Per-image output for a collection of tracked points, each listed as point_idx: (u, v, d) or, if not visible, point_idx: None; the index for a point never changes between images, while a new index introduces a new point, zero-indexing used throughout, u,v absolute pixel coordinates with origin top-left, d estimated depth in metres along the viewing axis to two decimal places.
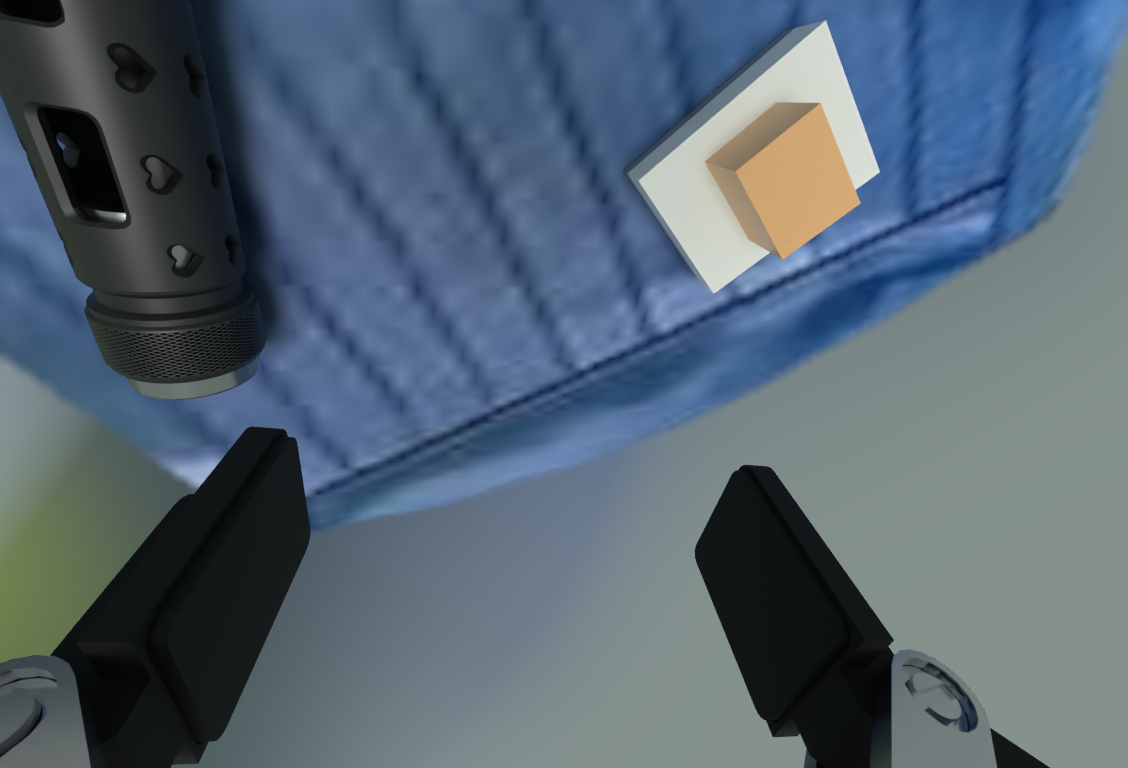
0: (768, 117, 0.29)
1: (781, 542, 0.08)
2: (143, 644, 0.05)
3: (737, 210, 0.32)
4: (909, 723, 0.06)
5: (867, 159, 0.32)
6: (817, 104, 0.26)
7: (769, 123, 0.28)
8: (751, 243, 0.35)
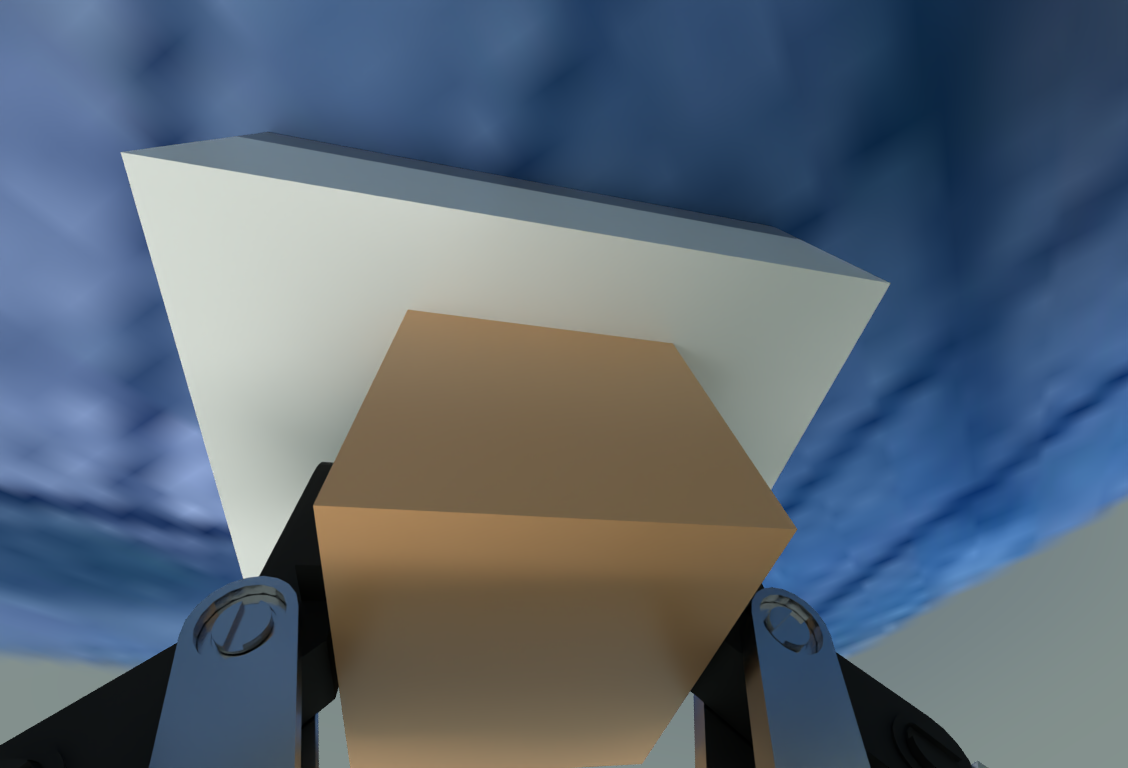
0: (629, 367, 0.08)
1: None
2: None
3: None
4: (774, 665, 0.06)
5: None
6: (777, 509, 0.06)
7: (616, 391, 0.08)
8: None
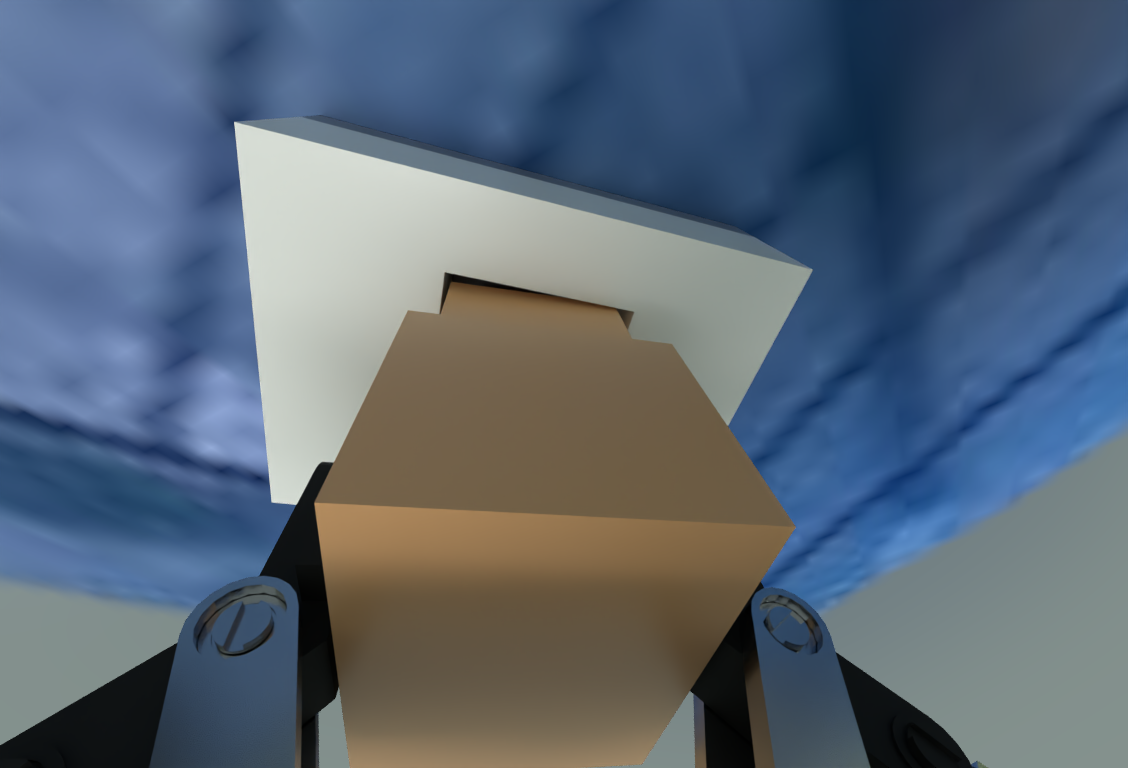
0: (628, 367, 0.08)
1: None
2: None
3: None
4: (774, 665, 0.06)
5: None
6: (776, 507, 0.06)
7: (616, 391, 0.08)
8: None
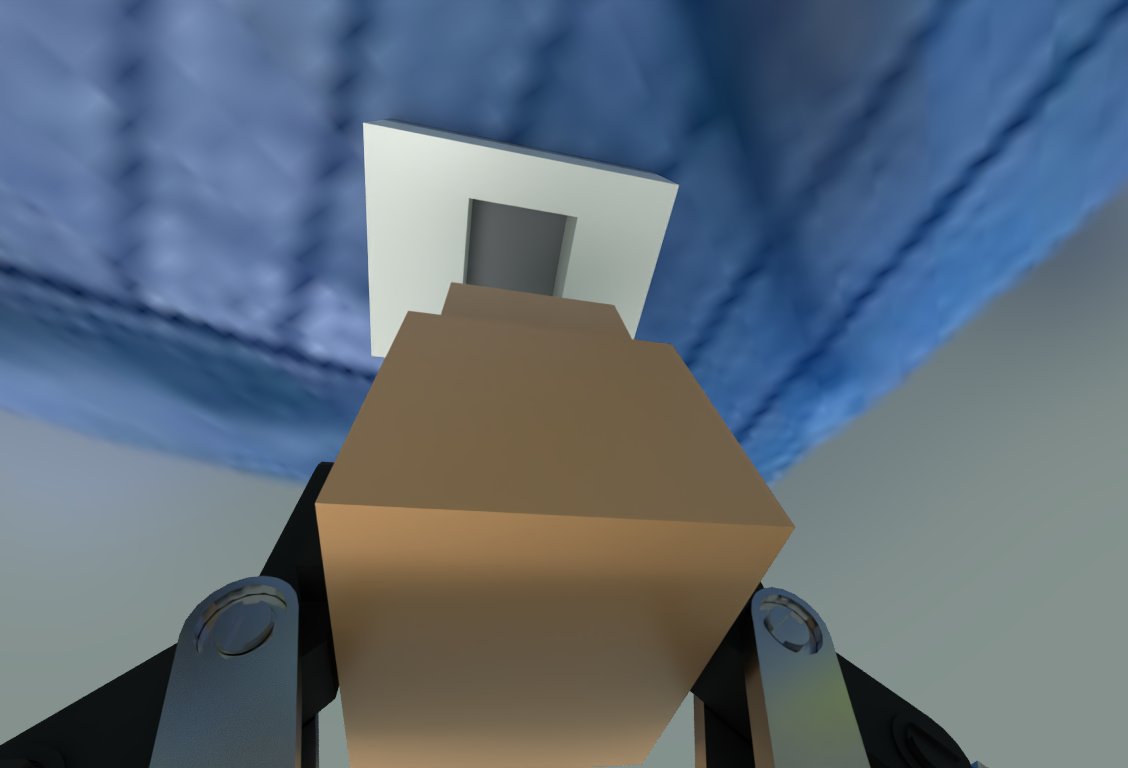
0: (628, 367, 0.08)
1: None
2: None
3: None
4: (774, 665, 0.06)
5: None
6: (776, 507, 0.06)
7: (616, 391, 0.08)
8: None
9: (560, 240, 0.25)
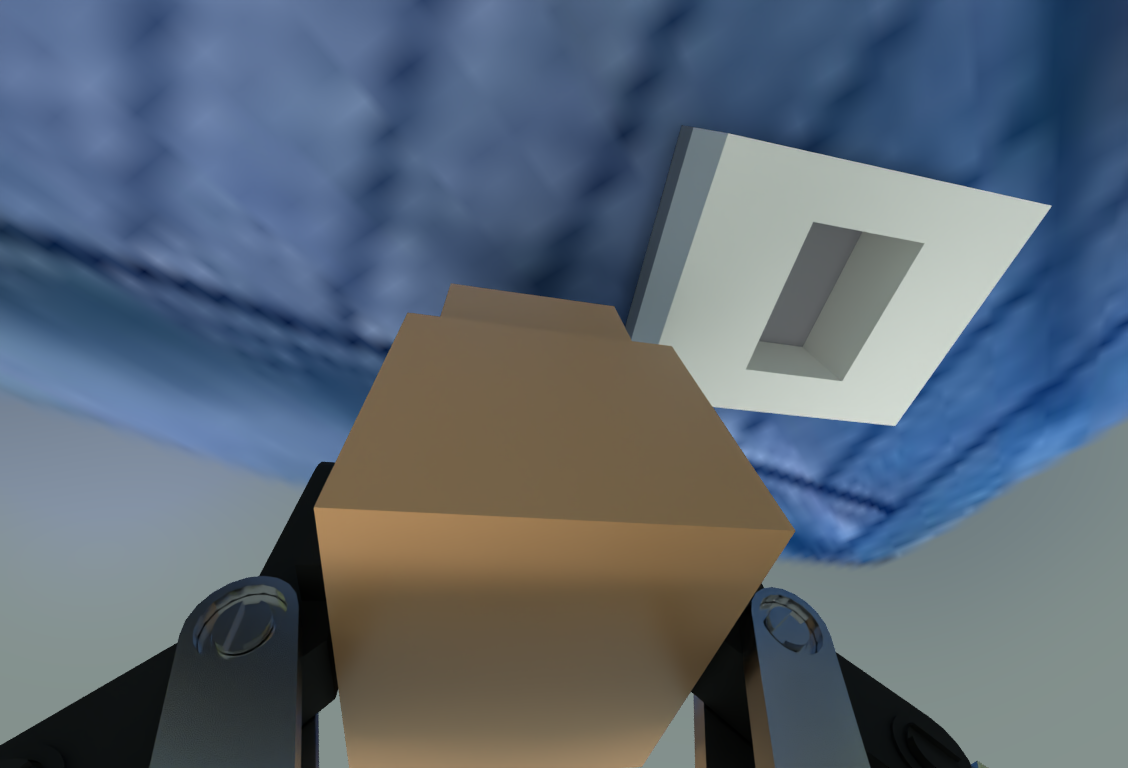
0: (628, 370, 0.08)
1: None
2: None
3: None
4: (774, 665, 0.06)
5: (903, 402, 0.23)
6: (776, 511, 0.06)
7: (616, 394, 0.08)
8: (737, 379, 0.21)
9: (842, 264, 0.22)
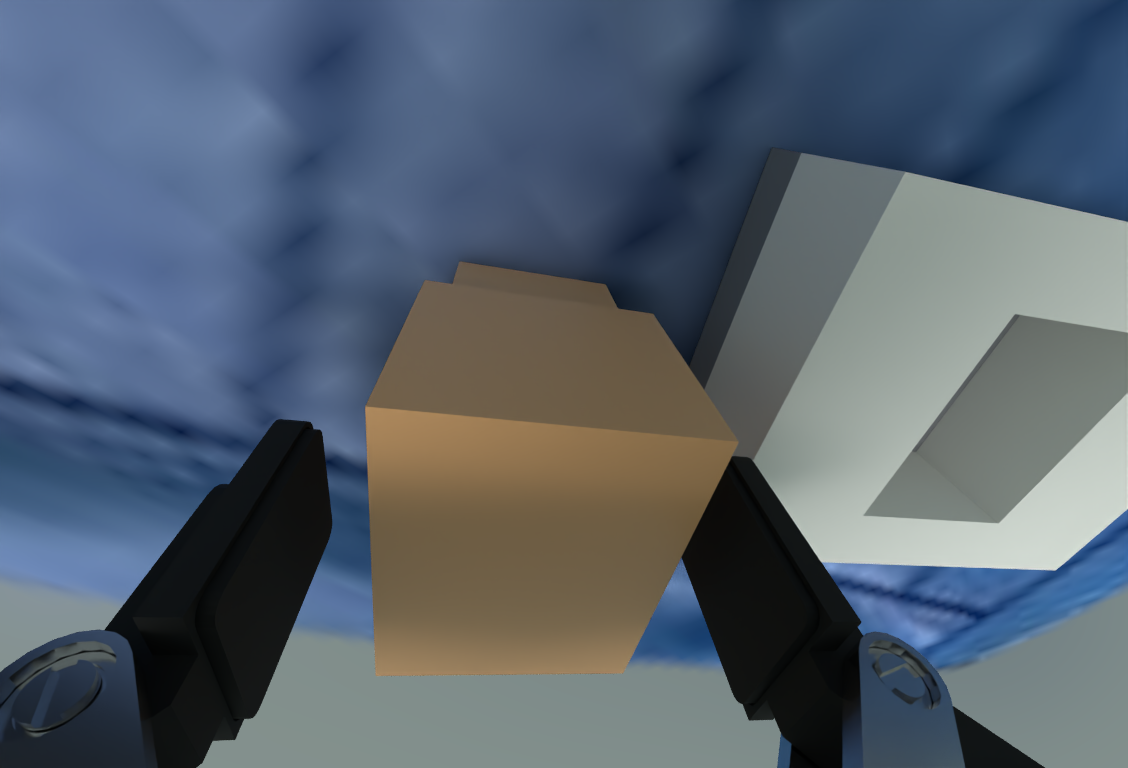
0: (613, 329, 0.10)
1: (757, 529, 0.08)
2: (192, 621, 0.05)
3: None
4: (877, 705, 0.06)
5: (1075, 543, 0.16)
6: (726, 430, 0.07)
7: (601, 345, 0.09)
8: (848, 528, 0.14)
9: (992, 347, 0.15)
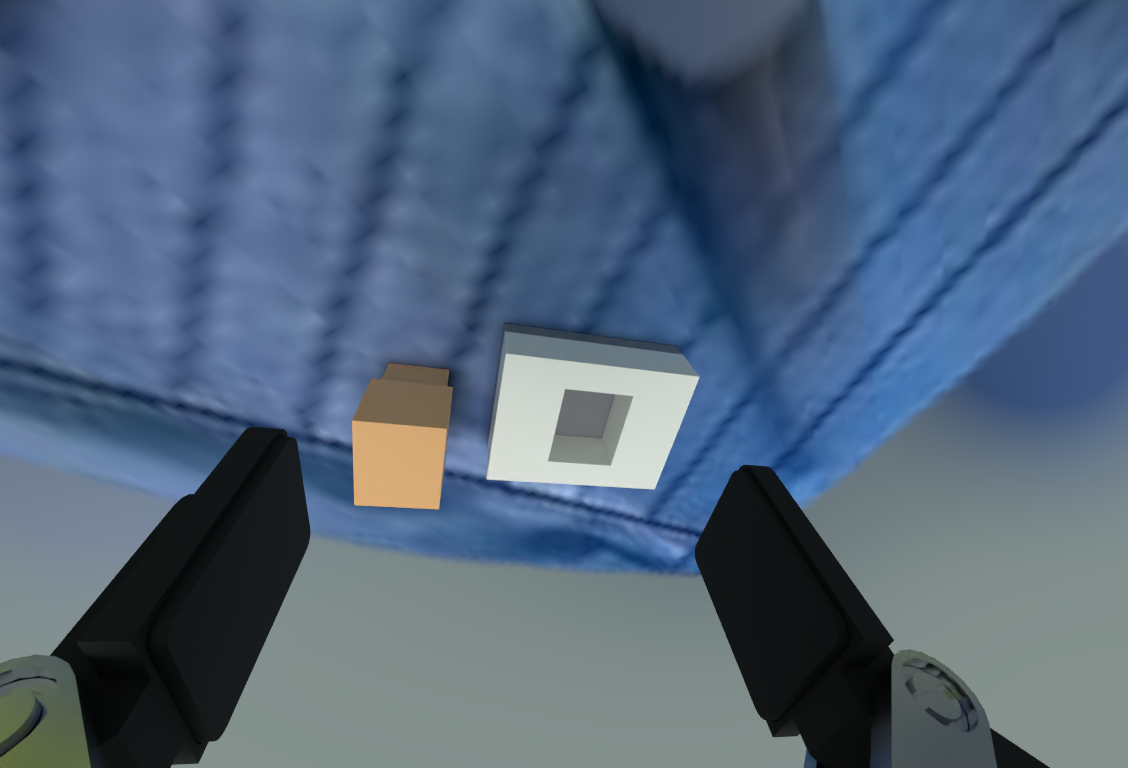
0: (432, 395, 0.31)
1: (781, 542, 0.08)
2: (143, 644, 0.05)
3: None
4: (909, 723, 0.06)
5: (654, 476, 0.37)
6: (447, 426, 0.28)
7: (424, 401, 0.30)
8: (544, 466, 0.35)
9: (613, 393, 0.37)
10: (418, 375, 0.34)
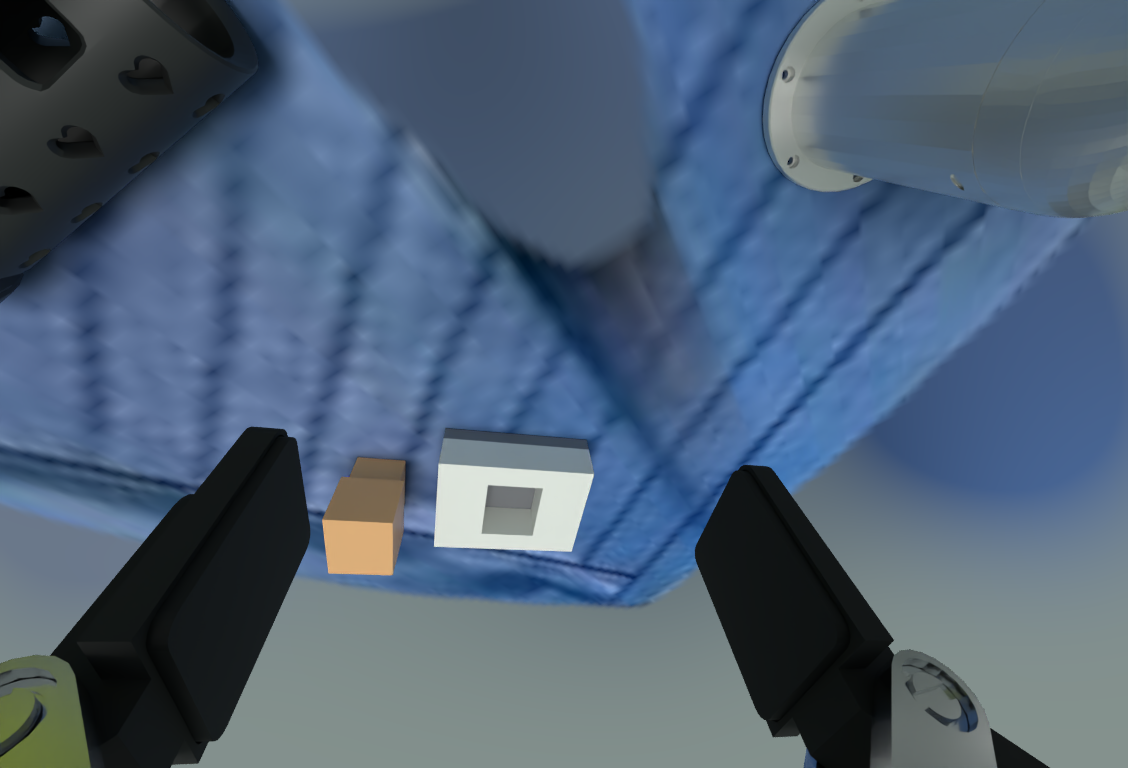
0: (386, 490, 0.41)
1: (781, 542, 0.08)
2: (143, 644, 0.05)
3: None
4: (909, 723, 0.06)
5: (569, 542, 0.47)
6: (393, 520, 0.38)
7: (379, 497, 0.40)
8: (479, 537, 0.45)
9: None
10: (379, 468, 0.44)
